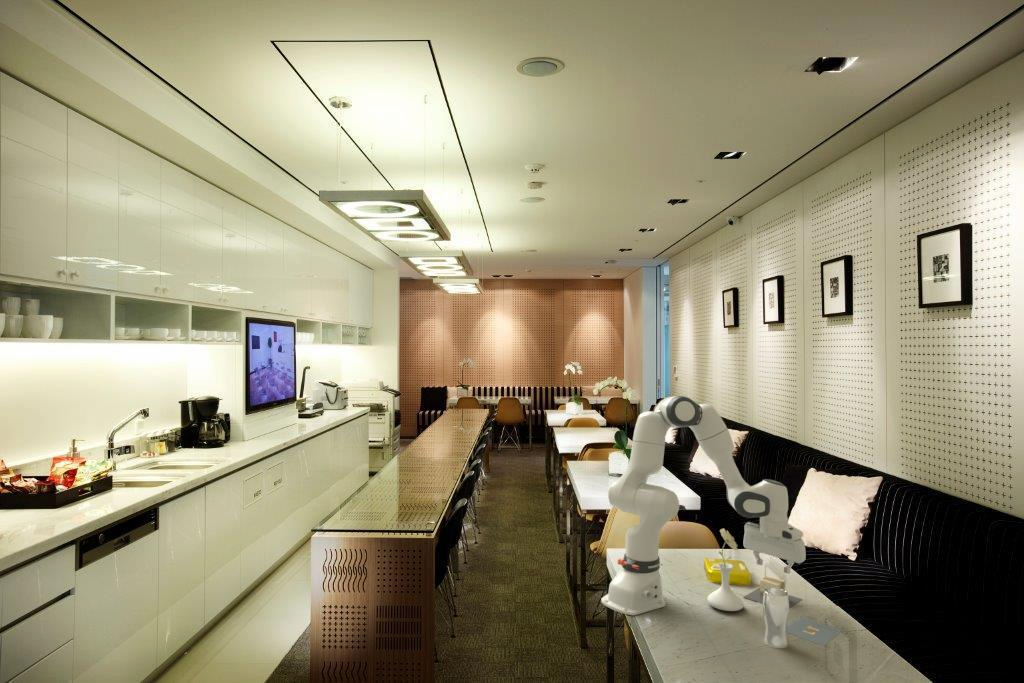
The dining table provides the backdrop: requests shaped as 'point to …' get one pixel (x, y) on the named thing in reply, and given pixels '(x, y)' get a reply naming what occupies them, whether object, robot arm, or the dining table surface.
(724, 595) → the flower in vase
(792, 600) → the pad
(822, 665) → the dining table surface
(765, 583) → the light wood cube
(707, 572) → the element tile
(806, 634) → the grey flat slab
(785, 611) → the beer glass
